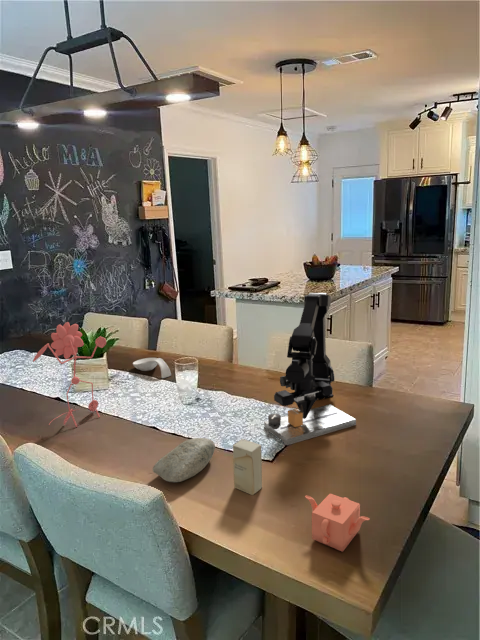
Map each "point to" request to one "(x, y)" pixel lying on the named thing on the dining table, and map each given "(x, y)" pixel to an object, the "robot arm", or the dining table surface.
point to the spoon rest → (153, 365)
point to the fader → (295, 417)
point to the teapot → (335, 521)
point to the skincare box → (247, 466)
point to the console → (312, 425)
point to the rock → (185, 460)
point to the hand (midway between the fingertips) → (304, 418)
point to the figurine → (67, 345)
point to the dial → (274, 419)
